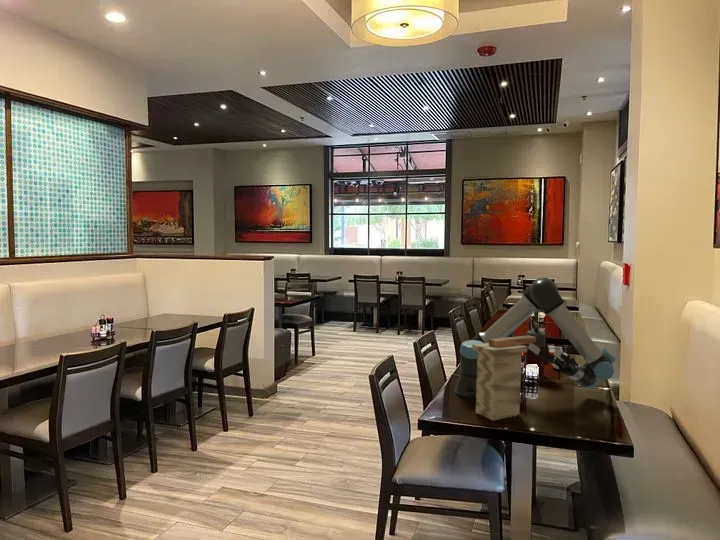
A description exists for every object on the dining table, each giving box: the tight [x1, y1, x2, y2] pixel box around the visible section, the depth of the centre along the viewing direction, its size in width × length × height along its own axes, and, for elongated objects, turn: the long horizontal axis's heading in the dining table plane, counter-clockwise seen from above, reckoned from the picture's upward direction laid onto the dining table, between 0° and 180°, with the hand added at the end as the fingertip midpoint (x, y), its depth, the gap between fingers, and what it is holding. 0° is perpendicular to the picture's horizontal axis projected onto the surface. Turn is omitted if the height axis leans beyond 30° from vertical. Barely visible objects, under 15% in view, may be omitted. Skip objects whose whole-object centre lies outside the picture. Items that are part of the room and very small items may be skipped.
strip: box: [489, 334, 536, 347], centre depth 209 cm, size 4×22×2 cm, turn 118°
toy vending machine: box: [525, 322, 551, 380], centre depth 264 cm, size 9×11×28 cm
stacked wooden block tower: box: [472, 343, 527, 421], centre depth 207 cm, size 12×18×28 cm, turn 118°
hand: (542, 348), depth 217 cm, fingers open, 13 cm apart
